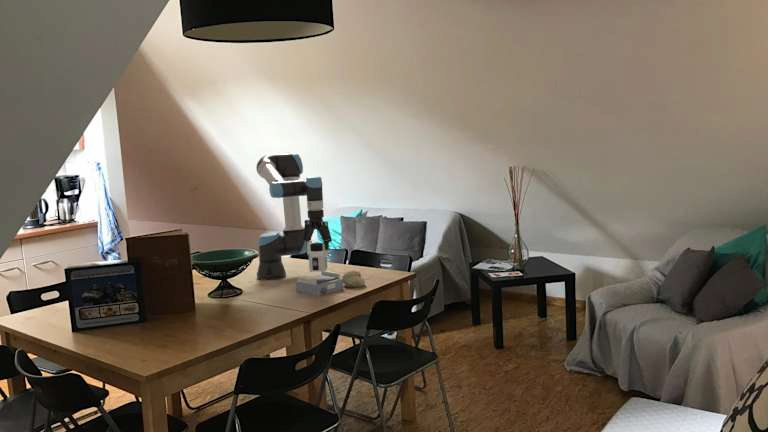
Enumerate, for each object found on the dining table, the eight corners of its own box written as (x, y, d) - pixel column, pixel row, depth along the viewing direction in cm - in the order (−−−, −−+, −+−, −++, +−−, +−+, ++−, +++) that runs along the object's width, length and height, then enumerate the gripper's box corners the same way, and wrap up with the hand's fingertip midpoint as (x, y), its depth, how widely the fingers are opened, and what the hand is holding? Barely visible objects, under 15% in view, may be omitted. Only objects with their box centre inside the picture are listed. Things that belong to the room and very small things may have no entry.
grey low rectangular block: (295, 291, 321) (295, 276, 320) (320, 284, 333) (319, 270, 332) (320, 296, 310) (319, 280, 309) (344, 289, 321) (344, 274, 320)
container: (325, 271, 316) (324, 244, 314) (309, 271, 316) (307, 244, 315) (327, 267, 324) (326, 241, 322) (311, 268, 324) (309, 241, 322)
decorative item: (334, 279, 325) (343, 267, 332) (341, 294, 328) (350, 281, 336) (355, 278, 319) (364, 266, 326) (362, 293, 322) (370, 280, 330)
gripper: (293, 209, 321) (295, 254, 324) (326, 211, 306) (328, 259, 309) (305, 207, 327) (307, 252, 330) (338, 209, 311) (340, 256, 314)
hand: (317, 255), depth 319 cm, fingers closed on container, 10 cm apart
